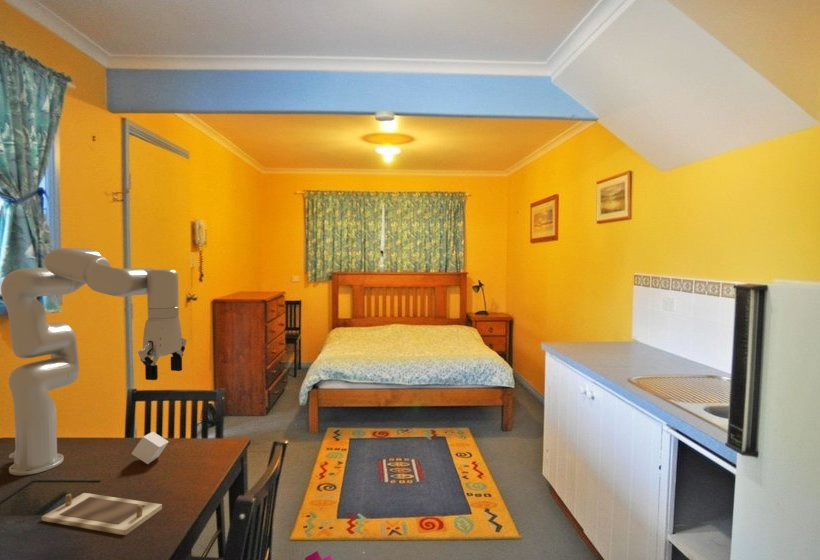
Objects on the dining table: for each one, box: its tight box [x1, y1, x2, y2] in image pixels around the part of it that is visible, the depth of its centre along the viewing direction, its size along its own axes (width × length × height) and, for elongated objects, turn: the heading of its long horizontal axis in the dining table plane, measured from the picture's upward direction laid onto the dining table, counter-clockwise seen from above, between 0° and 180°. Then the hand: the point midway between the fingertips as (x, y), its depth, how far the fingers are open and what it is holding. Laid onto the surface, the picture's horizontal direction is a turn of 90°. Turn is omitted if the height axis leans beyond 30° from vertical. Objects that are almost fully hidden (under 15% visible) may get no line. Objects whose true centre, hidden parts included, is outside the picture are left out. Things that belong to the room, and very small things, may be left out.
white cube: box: [131, 431, 169, 465], centre depth 137 cm, size 6×6×6 cm
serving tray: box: [41, 492, 163, 536], centre depth 109 cm, size 24×11×4 cm, turn 78°
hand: (164, 374), depth 122 cm, fingers open, 9 cm apart
